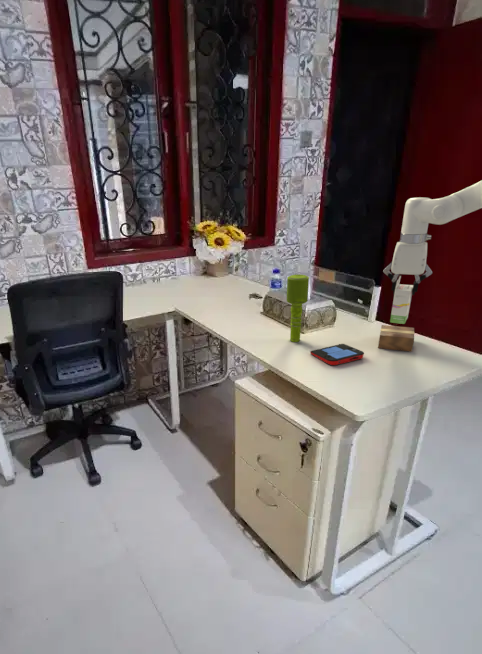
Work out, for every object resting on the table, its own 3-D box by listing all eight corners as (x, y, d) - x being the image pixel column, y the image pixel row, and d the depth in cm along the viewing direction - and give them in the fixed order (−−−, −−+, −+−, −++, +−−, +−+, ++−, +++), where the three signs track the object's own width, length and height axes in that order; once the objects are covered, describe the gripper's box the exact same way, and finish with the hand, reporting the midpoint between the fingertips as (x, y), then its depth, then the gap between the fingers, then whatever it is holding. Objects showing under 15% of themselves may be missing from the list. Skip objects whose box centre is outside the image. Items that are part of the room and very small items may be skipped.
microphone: (282, 337, 163) (284, 274, 152) (301, 335, 163) (304, 272, 152) (288, 345, 155) (291, 279, 144) (308, 343, 156) (312, 277, 145)
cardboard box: (412, 340, 153) (414, 327, 151) (411, 351, 145) (414, 338, 142) (379, 337, 158) (381, 324, 156) (377, 348, 149) (379, 334, 147)
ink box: (405, 324, 143) (412, 282, 136) (389, 322, 145) (395, 280, 138) (408, 317, 149) (415, 276, 143) (393, 315, 151) (400, 275, 145)
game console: (342, 346, 152) (343, 340, 151) (366, 359, 141) (367, 353, 140) (308, 353, 148) (309, 347, 147) (331, 367, 137) (331, 361, 136)
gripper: (442, 237, 134) (431, 292, 142) (384, 236, 141) (377, 288, 149) (443, 241, 128) (432, 298, 136) (383, 240, 135) (376, 294, 143)
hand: (403, 292), depth 143 cm, fingers closed on ink box, 5 cm apart
